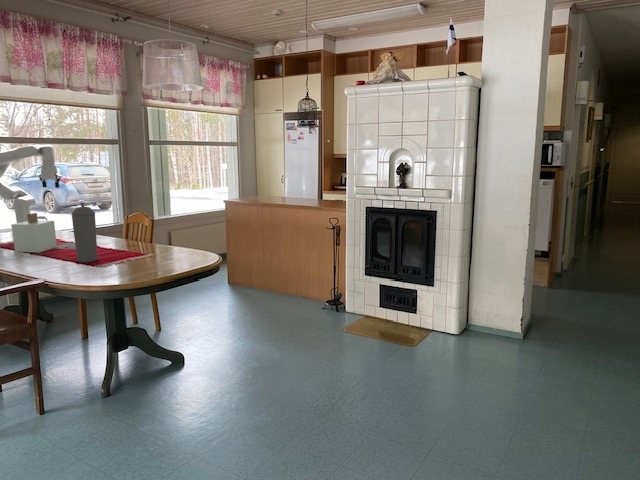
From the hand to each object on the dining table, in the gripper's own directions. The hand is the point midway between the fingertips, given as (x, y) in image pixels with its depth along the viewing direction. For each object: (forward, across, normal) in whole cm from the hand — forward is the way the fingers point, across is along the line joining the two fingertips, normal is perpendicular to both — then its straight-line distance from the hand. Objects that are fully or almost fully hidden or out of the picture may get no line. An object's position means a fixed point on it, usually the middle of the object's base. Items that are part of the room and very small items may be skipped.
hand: (51, 187), depth 343 cm
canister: (+38, +61, -56) cm, 91 cm away
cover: (+38, +9, -32) cm, 50 cm away
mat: (+38, +25, -18) cm, 49 cm away
